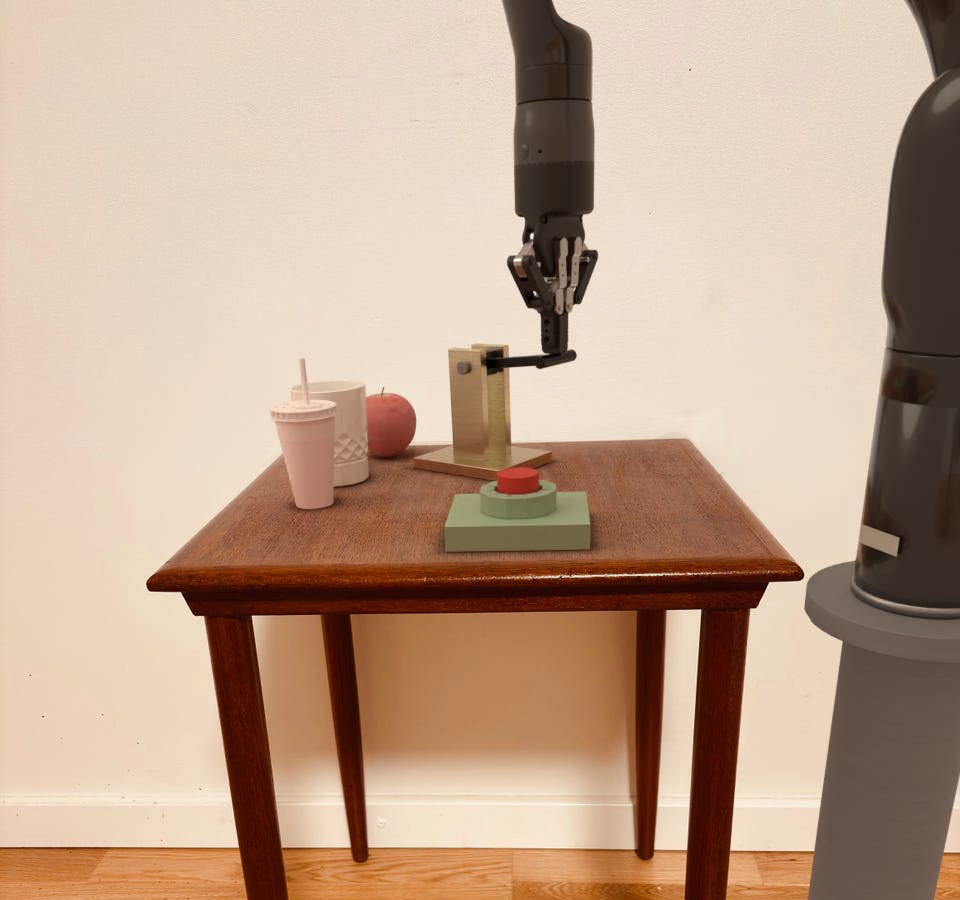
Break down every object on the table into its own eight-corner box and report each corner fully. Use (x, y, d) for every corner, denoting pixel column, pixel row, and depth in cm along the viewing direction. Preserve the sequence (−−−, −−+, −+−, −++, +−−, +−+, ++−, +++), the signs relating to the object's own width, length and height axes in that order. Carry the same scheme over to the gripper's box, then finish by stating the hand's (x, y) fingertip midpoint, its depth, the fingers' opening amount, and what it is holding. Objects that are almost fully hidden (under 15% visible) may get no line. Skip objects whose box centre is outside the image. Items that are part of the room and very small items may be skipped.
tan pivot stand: (551, 461, 104) (551, 343, 99) (498, 481, 97) (494, 355, 92) (469, 450, 111) (464, 339, 106) (413, 468, 104) (405, 350, 99)
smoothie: (313, 516, 88) (295, 364, 82) (268, 507, 91) (248, 361, 86) (360, 500, 92) (346, 355, 87) (316, 491, 96) (299, 352, 90)
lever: (577, 366, 95) (576, 342, 95) (545, 375, 91) (542, 350, 90) (487, 372, 103) (484, 350, 102) (453, 380, 99) (450, 357, 98)
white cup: (286, 486, 99) (274, 391, 95) (326, 468, 105) (316, 378, 101) (350, 491, 96) (340, 393, 92) (386, 472, 102) (379, 380, 98)
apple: (377, 447, 114) (372, 381, 111) (429, 451, 111) (424, 383, 108) (343, 460, 109) (336, 391, 105) (396, 465, 105) (391, 394, 102)
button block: (585, 514, 85) (586, 471, 83) (590, 549, 76) (590, 502, 74) (456, 516, 86) (454, 474, 84) (445, 552, 77) (442, 505, 75)
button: (539, 486, 81) (539, 466, 80) (539, 497, 78) (538, 477, 77) (498, 487, 81) (497, 467, 80) (496, 498, 78) (495, 478, 77)
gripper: (547, 155, 79) (549, 363, 86) (624, 158, 88) (620, 346, 96) (478, 161, 83) (485, 359, 90) (559, 164, 93) (559, 343, 100)
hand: (554, 352), depth 93 cm, fingers closed
